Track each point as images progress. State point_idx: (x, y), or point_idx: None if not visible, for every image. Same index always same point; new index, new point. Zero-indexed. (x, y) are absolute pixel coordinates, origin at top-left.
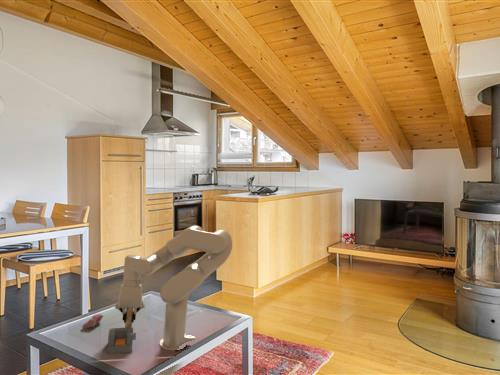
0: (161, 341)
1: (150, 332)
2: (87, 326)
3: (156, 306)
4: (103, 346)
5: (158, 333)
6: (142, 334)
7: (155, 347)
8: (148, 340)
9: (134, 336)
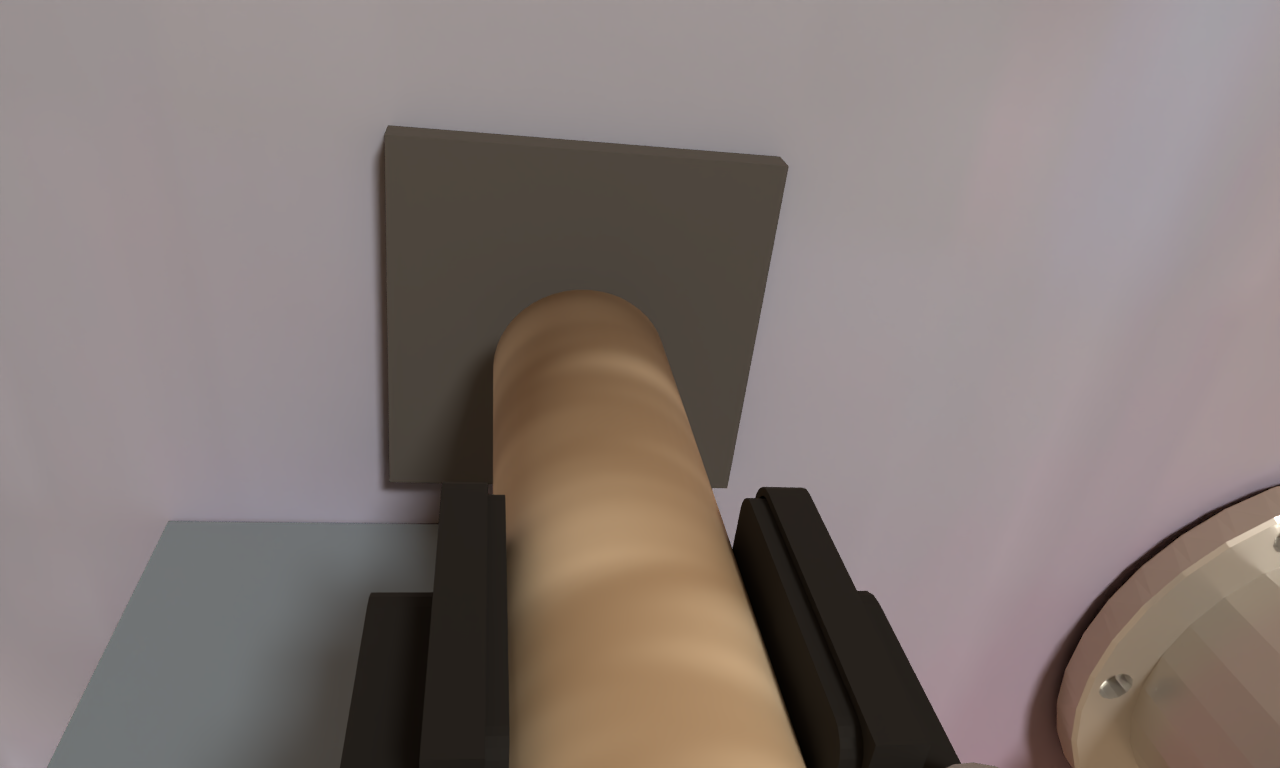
0: (1141, 647)
1: (1136, 110)
2: None
3: None
4: (86, 609)
5: (1273, 196)
6: (927, 191)
7: (985, 694)
8: (960, 474)
9: (724, 349)
